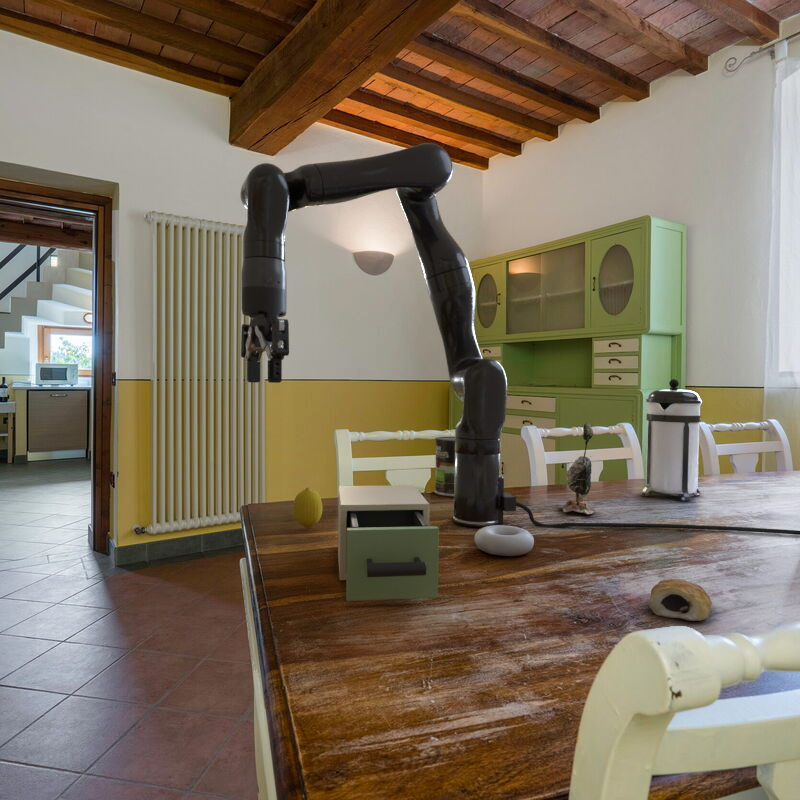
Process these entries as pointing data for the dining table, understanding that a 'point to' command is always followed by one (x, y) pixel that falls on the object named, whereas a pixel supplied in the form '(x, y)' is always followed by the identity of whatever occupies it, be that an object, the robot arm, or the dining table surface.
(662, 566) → the dining table surface
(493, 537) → the donut
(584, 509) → the stone sculpture
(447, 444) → the coffee can
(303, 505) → the lemon
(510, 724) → the dining table surface
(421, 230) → the robot arm
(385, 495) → the small bedside cabinet
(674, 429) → the coffee press
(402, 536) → the drawer
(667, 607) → the pastry
